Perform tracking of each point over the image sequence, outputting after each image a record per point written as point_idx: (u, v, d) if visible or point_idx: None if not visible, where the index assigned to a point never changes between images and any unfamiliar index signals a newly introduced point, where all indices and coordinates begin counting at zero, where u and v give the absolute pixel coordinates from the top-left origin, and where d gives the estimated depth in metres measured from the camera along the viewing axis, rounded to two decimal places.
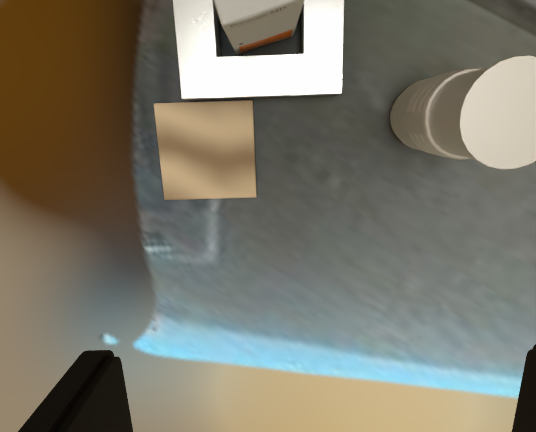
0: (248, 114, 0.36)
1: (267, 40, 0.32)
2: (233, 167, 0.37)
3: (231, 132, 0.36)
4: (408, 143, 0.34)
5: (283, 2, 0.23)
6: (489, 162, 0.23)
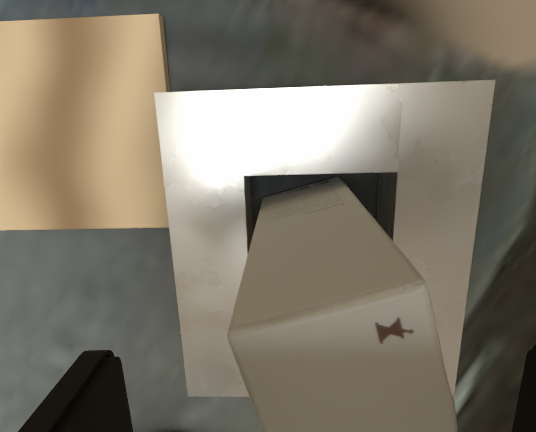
0: (153, 219, 0.18)
1: None
2: (47, 187, 0.18)
3: (116, 185, 0.18)
4: None
5: None
6: None
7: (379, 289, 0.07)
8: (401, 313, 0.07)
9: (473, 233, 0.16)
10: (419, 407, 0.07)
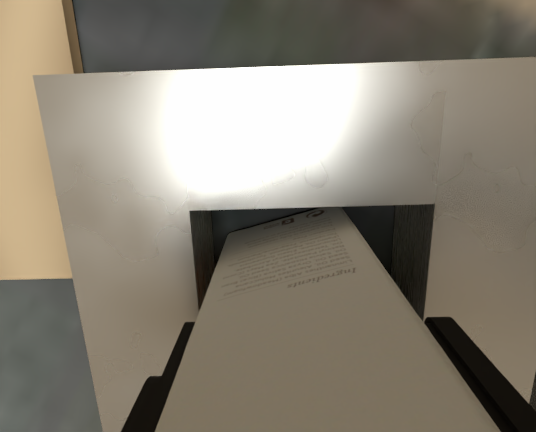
0: (68, 266, 0.13)
1: None
2: None
3: (8, 218, 0.12)
4: None
5: None
6: None
7: None
8: None
9: None
10: None
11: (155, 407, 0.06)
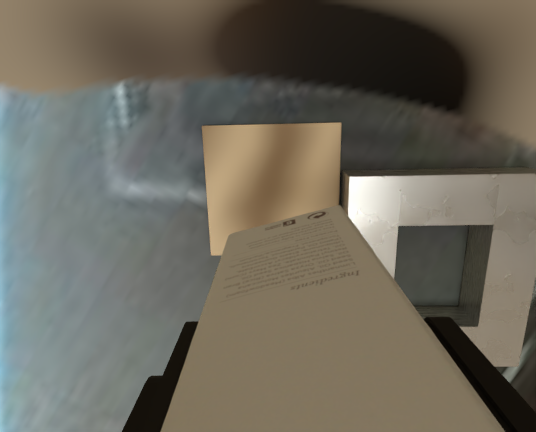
0: None
1: None
2: (251, 227, 0.27)
3: None
4: None
5: None
6: None
7: None
8: None
9: None
10: None
11: (156, 406, 0.06)
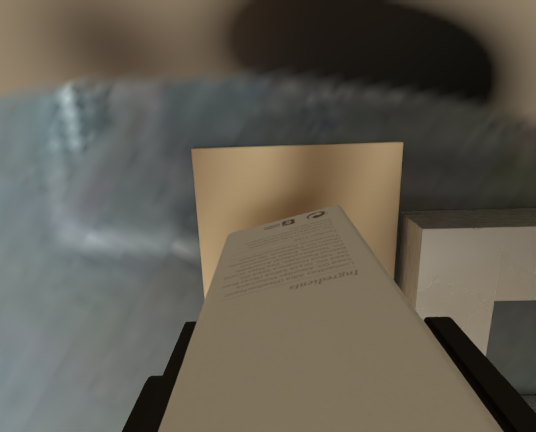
0: None
1: None
2: None
3: None
4: None
5: None
6: None
7: None
8: None
9: None
10: None
11: (156, 407, 0.06)
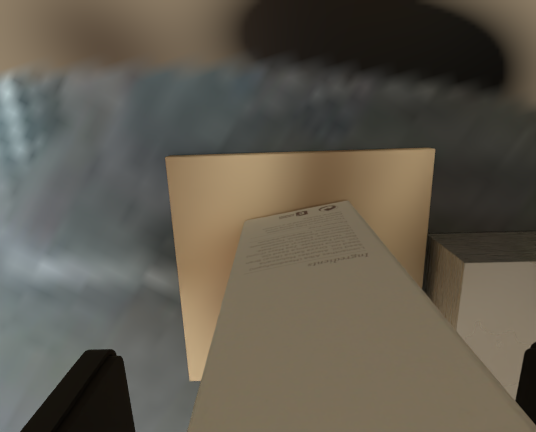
0: None
1: None
2: None
3: None
4: None
5: None
6: None
7: None
8: None
9: None
10: None
11: None
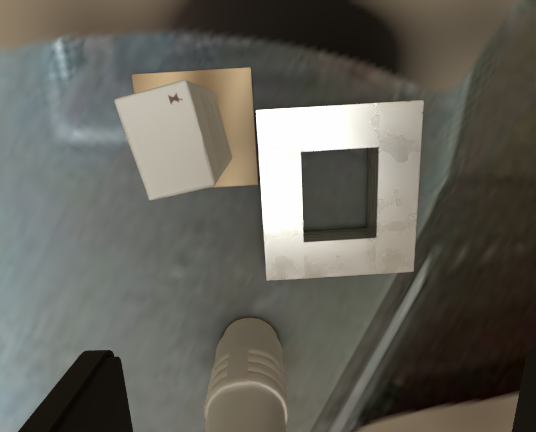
0: (243, 180, 0.32)
1: None
2: None
3: None
4: (221, 345, 0.34)
5: (142, 176, 0.20)
6: None
7: (170, 83, 0.19)
8: (177, 91, 0.19)
9: (418, 178, 0.30)
10: (188, 133, 0.20)
11: None
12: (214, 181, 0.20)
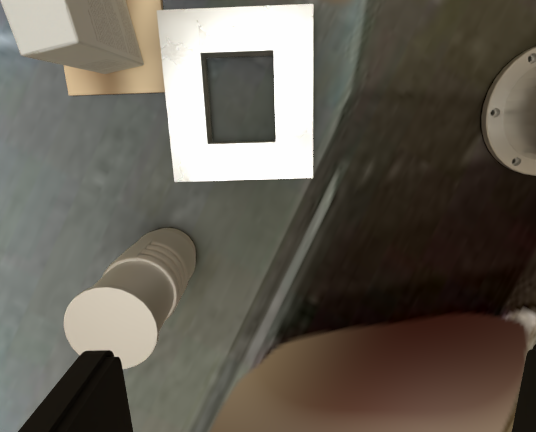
0: (155, 87, 0.35)
1: None
2: None
3: (135, 67, 0.34)
4: None
5: (13, 30, 0.22)
6: (67, 316, 0.25)
7: None
8: None
9: (312, 82, 0.32)
10: None
11: None
12: (78, 38, 0.23)
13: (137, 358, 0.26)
